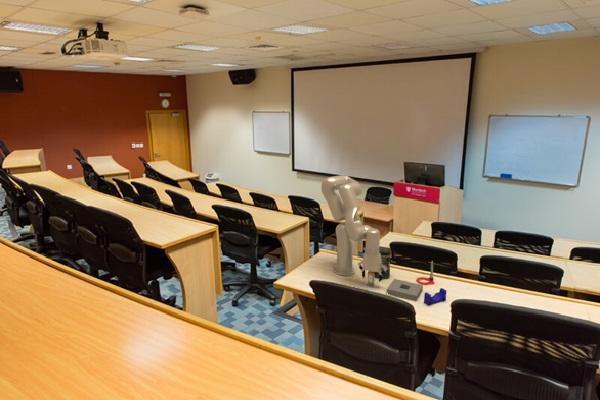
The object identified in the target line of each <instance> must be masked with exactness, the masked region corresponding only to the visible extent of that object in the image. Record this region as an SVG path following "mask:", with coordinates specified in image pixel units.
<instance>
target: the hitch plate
mask: <svg viewBox="0 0 600 400" xmlns="http://www.w3.org/2000/svg"><path fill="white" fill-rule="evenodd" d="M423 286H424V285H423V284H419V283H415V282H410V281H406V280H401V279H397V278H393V280H392V281H391V282H390V284H389V285H388V286H387V288H386V294H387V293H388V294H387V295H389V294H390V295H389V296H393V297H396V298H401V299H406V300H410V301H414V302H417V301H418V299H419V297H420V295H421V294H422V292H423Z"/></svg>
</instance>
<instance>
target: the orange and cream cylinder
mask: <svg viewBox="0 0 600 400" xmlns="http://www.w3.org/2000/svg"><path fill="white" fill-rule="evenodd" d="M374 273H375V272H373V271H367V286H368V285H369V286H368V287H374V286H375V276H374Z"/></svg>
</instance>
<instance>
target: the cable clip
mask: <svg viewBox="0 0 600 400" xmlns="http://www.w3.org/2000/svg"><path fill="white" fill-rule="evenodd" d="M446 300H447V290H446V289H445V288H443V287H441V288H439V291H438V292H435V293H434V294H433V295H432V294H430V293H429V292H427V291H426V292H424V296H423V304H425V305H426V306H432V305H435V304H438V303H442V302H445V301H446Z"/></svg>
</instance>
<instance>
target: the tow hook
mask: <svg viewBox="0 0 600 400" xmlns="http://www.w3.org/2000/svg"><path fill="white" fill-rule="evenodd" d="M433 262H434V261H433V260H432V261H431V264H430V273H429V277H427V276H426V277H425V276H422V277H421V276H420V277H417V278H416V282H417V284H420V285H423V286H427V285H435V282H434V263H433ZM420 280H421V281H420ZM422 280H424V281H425V280H427V281H426V282H424V281H422Z"/></svg>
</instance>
